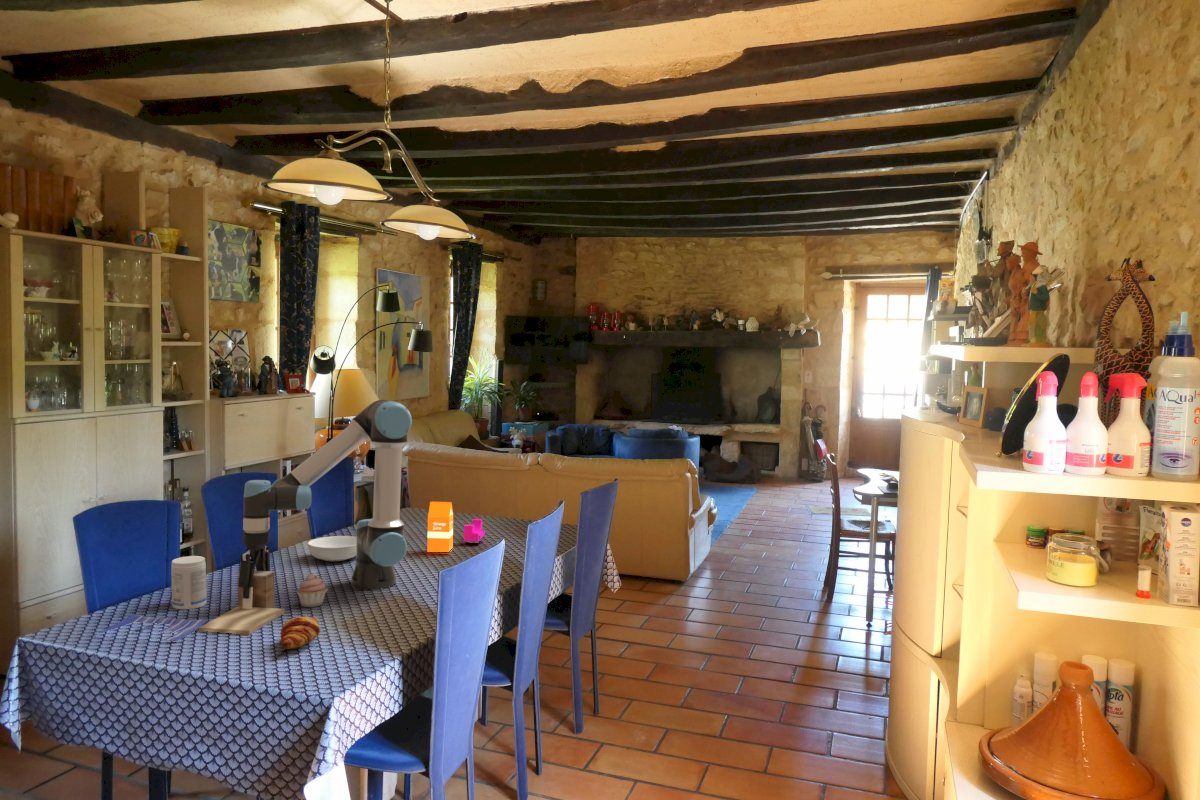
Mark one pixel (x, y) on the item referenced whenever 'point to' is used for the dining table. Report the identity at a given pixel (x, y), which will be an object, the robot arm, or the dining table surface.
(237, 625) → the board
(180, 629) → the dish towel
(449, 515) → the orange juice
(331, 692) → the dining table surface
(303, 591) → the cupcake
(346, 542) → the serving bowl
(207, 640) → the dining table surface
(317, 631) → the croissant
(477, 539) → the toy block
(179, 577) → the supplement tub
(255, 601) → the wooden block
